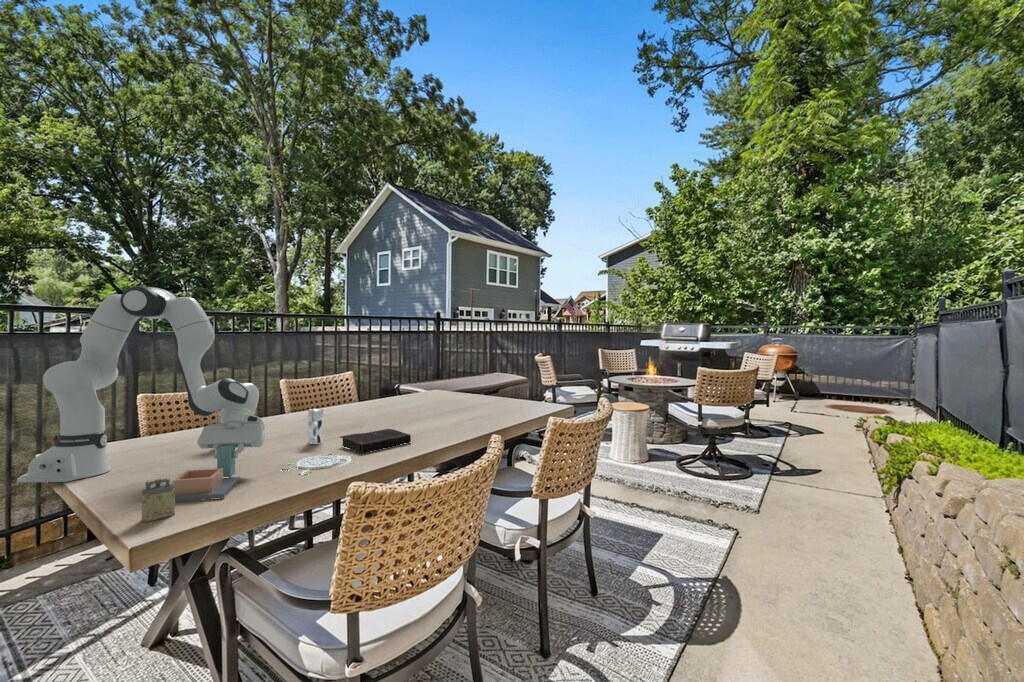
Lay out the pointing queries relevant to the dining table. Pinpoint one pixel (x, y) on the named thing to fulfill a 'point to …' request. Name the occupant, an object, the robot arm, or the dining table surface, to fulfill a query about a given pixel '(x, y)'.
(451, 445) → the dining table surface
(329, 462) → the pendant
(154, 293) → the robot arm
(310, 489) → the dining table surface
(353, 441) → the diary
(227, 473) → the peg
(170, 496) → the green boxy piece
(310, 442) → the beer glass
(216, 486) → the holder
